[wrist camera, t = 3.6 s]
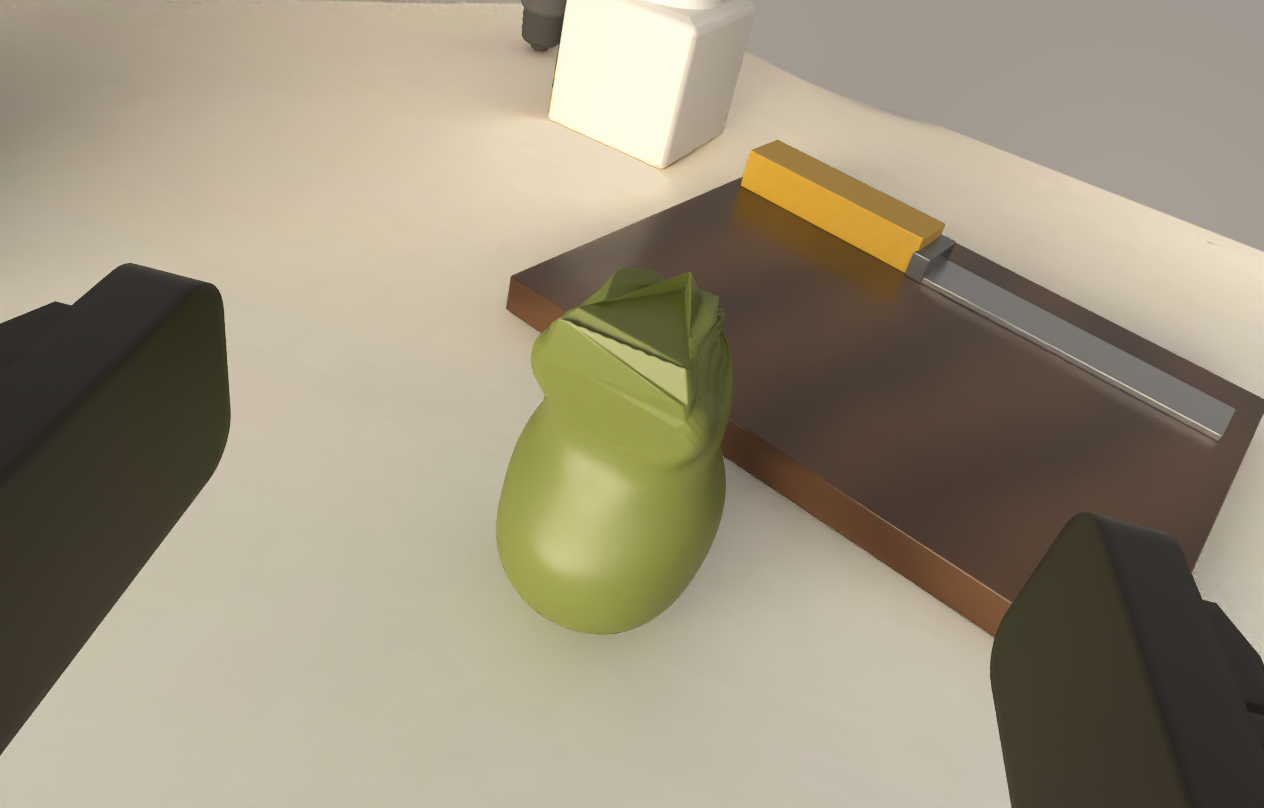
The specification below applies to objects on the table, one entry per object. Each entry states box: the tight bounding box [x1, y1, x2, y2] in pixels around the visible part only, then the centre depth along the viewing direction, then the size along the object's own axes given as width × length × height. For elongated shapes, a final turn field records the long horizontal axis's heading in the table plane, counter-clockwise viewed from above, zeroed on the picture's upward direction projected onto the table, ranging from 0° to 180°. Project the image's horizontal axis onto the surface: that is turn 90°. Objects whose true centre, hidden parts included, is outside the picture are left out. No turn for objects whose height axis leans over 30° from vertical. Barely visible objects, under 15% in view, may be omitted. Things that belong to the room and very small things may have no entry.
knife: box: [741, 140, 1236, 441], centre depth 42 cm, size 22×3×2 cm, turn 51°
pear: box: [496, 267, 733, 634], centre depth 24 cm, size 6×5×10 cm
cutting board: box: [506, 177, 1264, 637], centre depth 39 cm, size 24×20×2 cm
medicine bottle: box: [548, 0, 756, 169], centre depth 49 cm, size 7×7×12 cm
